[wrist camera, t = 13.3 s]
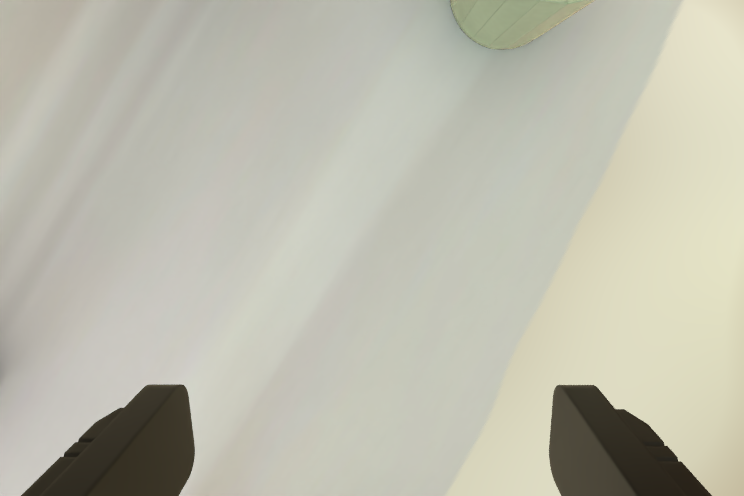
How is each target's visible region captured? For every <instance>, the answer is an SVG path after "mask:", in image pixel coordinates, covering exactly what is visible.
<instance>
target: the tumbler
mask: <svg viewBox="0 0 744 496" xmlns="http://www.w3.org/2000/svg"><path fill="white" fill-rule="evenodd" d="M594 1H595V0H450V2H451V8H452V11H453V15H454V17H455V19H456V21H457V23H458V25H459V26H460V28H461V29H462V30H463V32H464V33H465V34H466V35H467V36H468V37H469V38H470V39H472V40H473V41H475V42H476V43H478V44H480V45H482V46H485V47H488V48H491V49H498V50H506V49H513V48H517V47H520V46H523V45H525V44H527V43H529V42H531V41H533V40H534V39H536V38H538V37H540V36H541V35H543V34H544V33H546V32H547V31H549V30H550V29H552V28H553V27H555V26H557V25H558V24H560V23H561V22H563V21H564V20H566V19H567V18H569V17H570V16H572V15H574V14H575V13H577V12H578V11H580V10H581V9H583V8H584V7H586V6H587V5H589V4H590V3H592V2H594Z"/></svg>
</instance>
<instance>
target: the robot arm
mask: <svg viewBox="0 0 744 496" xmlns="http://www.w3.org/2000/svg"><path fill="white" fill-rule="evenodd" d="M194 454H195V447H194V438H193V430H192V421H191V413H190V405H189V397H188V392H187V389H186V387H185V386H184V385H147V386H145V387H144V388H143V389H142V390H141V391H140V392H139V393H138V394H137V395H136V396H135V397H134V398H133V399H132V400H131V401H130V402H129V403H128V405H127V406H126V407H125V408H119V409H117V410H116V411H114V412H112V413H111V414H109V415H107V416H106V417H104V418H102V419H100V420H99V421H97V422H96V423H95V424H94V425H93V426H92V427H91V428H90V429H88V430H87V431H86V432H85V433H84V434H83V435H82V436H81V437H80V438H79V441H78V442H75V443H74V444H73V445H72V446H71V447H70V448H69V449H68V450H67V451H66V452H65V453H64V457H60V458H59V459H58V460H57V461H56V462H55V463H54V464H53V465H52V466H51V467H50V468H49V469H48V470H47V471H46V472H45V473H44V474H43V475H42V476H41V477H40V478H39V479H38V480H37V481H36V482H35V483H34V484H33V485H32V486H31V487H30V488H29V489H27V490H26V491H25V492H24V493H23V494H22V495H21V496H179V494H180V492H181V490H182V489H183V487H184V485H185V484H186V482H187V480H188V478H189V476H190V474H191V471H192V467H193V462H194ZM549 458H550V466H551V471H552V475H553V478H554V481H555V483H556V485H557V487H558V489H559V491H560V494H561V496H712V495H711V494H710V493H709V492H708V491H707V490H706V489H705V488H704V487H703V485H702V484H701V483H700V482H699V481H698V480H697V479H696V478H695V477H694V476H693V474H692V473H691V472H690V471H689V470H688V469H687V468H686V466H685V465H684V464H683V463H682V462H678V459H677V457H676V455H675V454H674V453H673V452H672V451H671V450H670V449H669V448H668V446H664V442H663V441H662V440H661V439H660V437H659V436H658V435H657V434H656V433H655V432H654V431H653V430H652V429H651V427H650V426H649V425H648V424H646V423H645V422H643V421H642V420H640V419H638V418H637V417H635V416H634V415H632V414H630V413H629V412H627V411H626V410H624V409H621V410H619V409H618V410H617V409H614V408H613V406H612V405H611V404H610V403H609V401H608V400H607V399H606V398H605V396H604V395H603V394H602V393H601V392H600V390H599V389H598V388H597V387H596V386H594V385H558V386H556V388H555V390H554V395H553V406H552V419H551V432H550V445H549Z"/></svg>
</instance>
